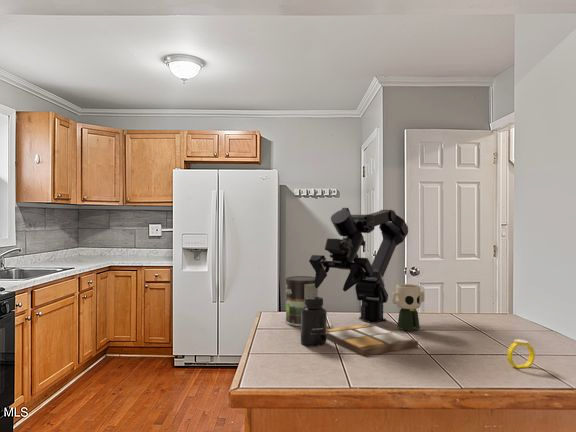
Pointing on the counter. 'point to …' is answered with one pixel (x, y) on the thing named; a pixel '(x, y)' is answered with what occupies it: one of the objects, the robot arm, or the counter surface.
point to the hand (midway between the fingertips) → (329, 288)
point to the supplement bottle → (313, 322)
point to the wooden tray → (369, 339)
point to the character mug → (408, 305)
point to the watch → (511, 349)
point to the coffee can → (298, 297)
